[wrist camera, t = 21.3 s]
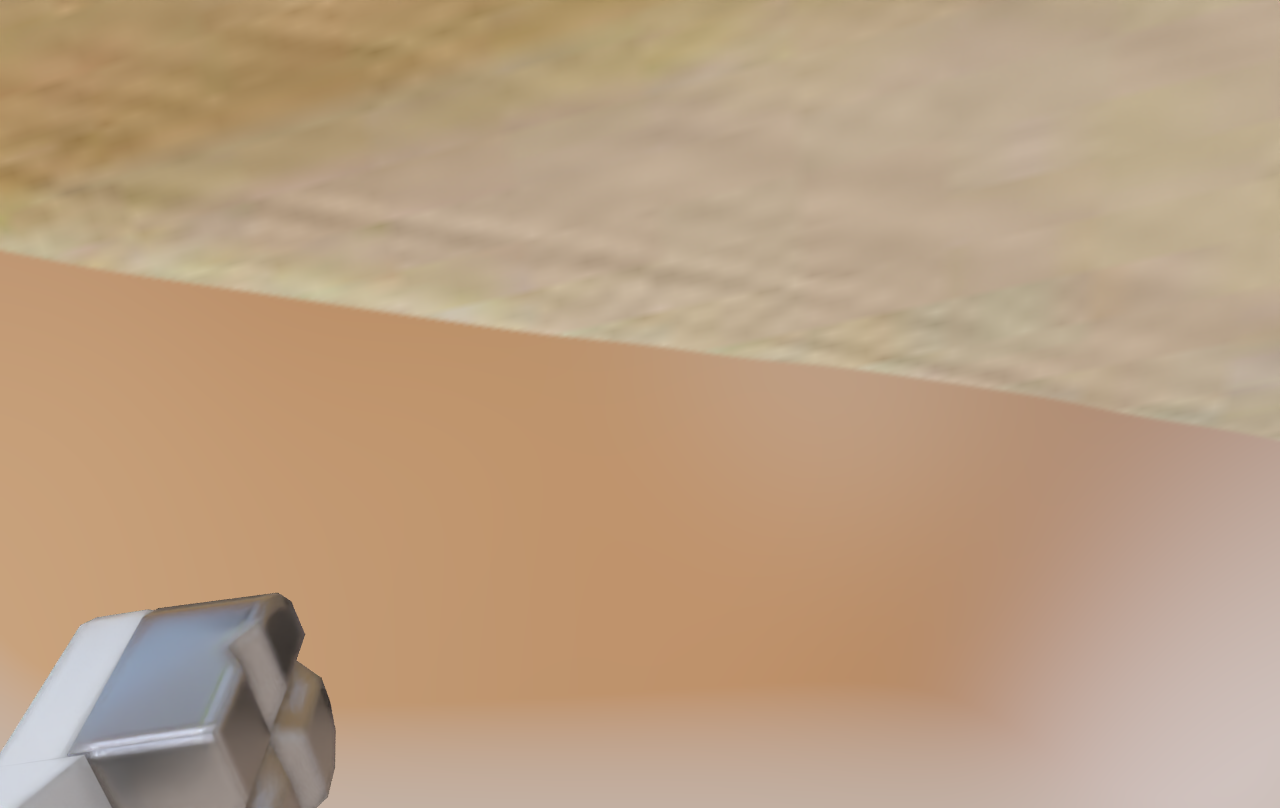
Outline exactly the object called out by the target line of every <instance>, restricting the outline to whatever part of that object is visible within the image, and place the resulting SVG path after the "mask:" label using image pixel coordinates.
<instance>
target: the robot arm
mask: <svg viewBox="0 0 1280 808" xmlns="http://www.w3.org/2000/svg"><path fill="white" fill-rule="evenodd" d="M304 636H305V633H304V631H303V628H302V626H301V624H300V621H299V619H298V617H297V614H296V612H295V609H294V607H293V605H292V602H291V601H290V600H288V599H287V598H285V597H284V596H282V595H281V594H279V593H272V594H264V595H257V596H250V597H241V598H234V599H227V600H218V601H211V602H204V603H196V604H188V605H180V606H172V607H164V608H158V609H156V610H142V611H135V612H129V613H122V614H116V615H110V616H103V617H97V618H95V619H93V620H90V621H88V622H86V623H84V624H82V625H80V627H79V628H78V630H77V631H76V633H75V634H74V636H73V638H72V639H71V641H70V643H69V644H68V646H67V647H66V649H65V651H64V652H63V654H62V655H61V657H60V658H59V660H58V662H57V664H56V665H55V666H54V668H53V670H52V671H51V673H50V674H49V676H48V678H47V679H46V681H45V682H44V684H43V686H42V687H41V689H40V690H39V692H38V694H37V695H36V697H35V698H34V700H33V702H32V703H31V705H30V706H29V708H28V710H27V711H26V713H25V714H24V716H23V717H22V719H21V721H20V723H19V724H18V725H17V727H16V729H15V730H14V732H13V734H12V735H11V737H10V738H9V740H8V742H7V743H6V745H5V746H4V748H3V749H2V751H1V753H0V808H317V807H318V806H319V805H320V804H321V803H322V802H323V801H324V800H325V799H326V798H327V797H328V794H329V790H330V785H331V781H332V777H333V773H334V769H335V734H336V731H335V725H334V720H333V715H332V709H331V704H330V700H329V697H328V695H327V692H326V689H325V686H324V684H323V681H322V678H321V677H319V676H318V675H316V674H315V673H314V672H312V671H311V670H309V669H308V668H307V667H305V666H303V665H302V664H301V663H299V662H298V661H296V660H297V657H298V654H299V651H300V648H301V645H302V642H303V639H304Z"/></svg>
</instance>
